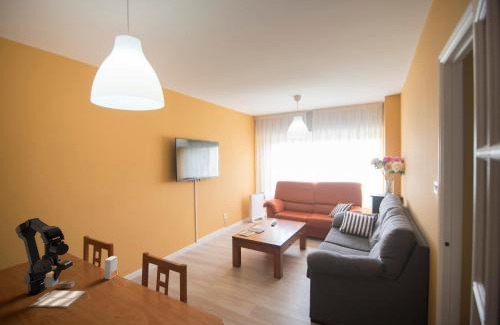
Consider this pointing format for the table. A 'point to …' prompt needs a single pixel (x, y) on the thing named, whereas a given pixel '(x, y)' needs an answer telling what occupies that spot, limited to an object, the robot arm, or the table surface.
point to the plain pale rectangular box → (66, 284)
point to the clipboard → (58, 299)
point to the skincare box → (110, 267)
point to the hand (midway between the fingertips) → (52, 280)
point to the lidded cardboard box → (50, 279)
